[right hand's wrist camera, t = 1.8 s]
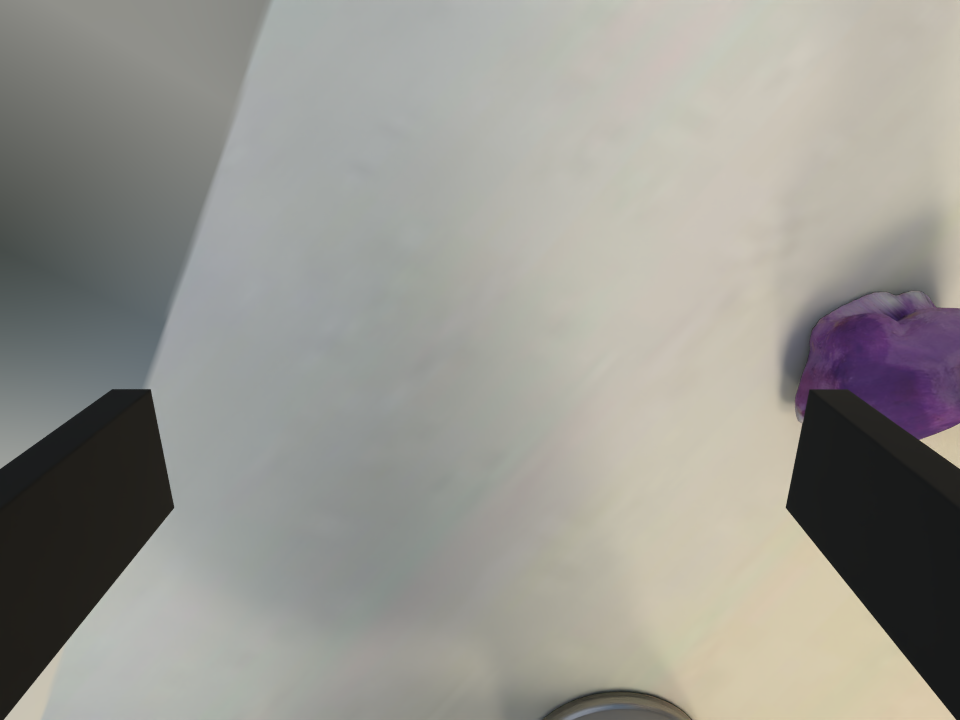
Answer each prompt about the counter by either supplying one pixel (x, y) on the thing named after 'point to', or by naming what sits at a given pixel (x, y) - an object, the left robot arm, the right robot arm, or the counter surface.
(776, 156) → the counter surface
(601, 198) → the counter surface
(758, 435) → the counter surface
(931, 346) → the figurine
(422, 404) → the counter surface
